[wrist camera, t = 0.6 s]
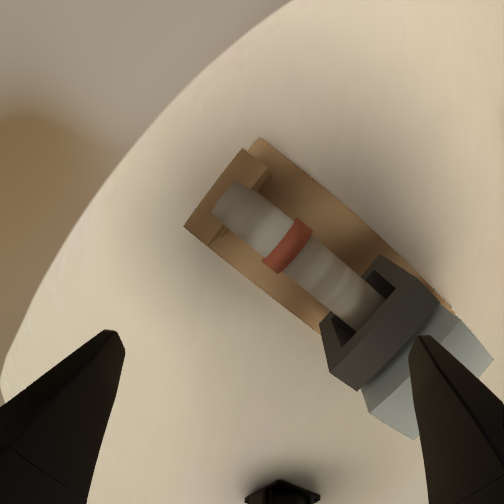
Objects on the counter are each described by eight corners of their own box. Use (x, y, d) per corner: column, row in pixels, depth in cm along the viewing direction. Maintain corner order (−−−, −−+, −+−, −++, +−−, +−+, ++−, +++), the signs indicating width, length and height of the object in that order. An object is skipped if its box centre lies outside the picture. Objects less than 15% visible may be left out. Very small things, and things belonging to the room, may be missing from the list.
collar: (399, 272, 18) (440, 302, 12) (340, 340, 19) (357, 391, 13) (379, 253, 18) (416, 277, 12) (318, 324, 19) (329, 372, 13)
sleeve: (441, 313, 18) (494, 359, 11) (383, 375, 19) (413, 440, 12) (407, 279, 18) (460, 319, 11) (346, 347, 19) (369, 413, 12)
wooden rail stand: (450, 309, 20) (495, 345, 14) (386, 380, 22) (410, 433, 15) (259, 139, 20) (247, 112, 13) (191, 229, 22) (150, 243, 15)
